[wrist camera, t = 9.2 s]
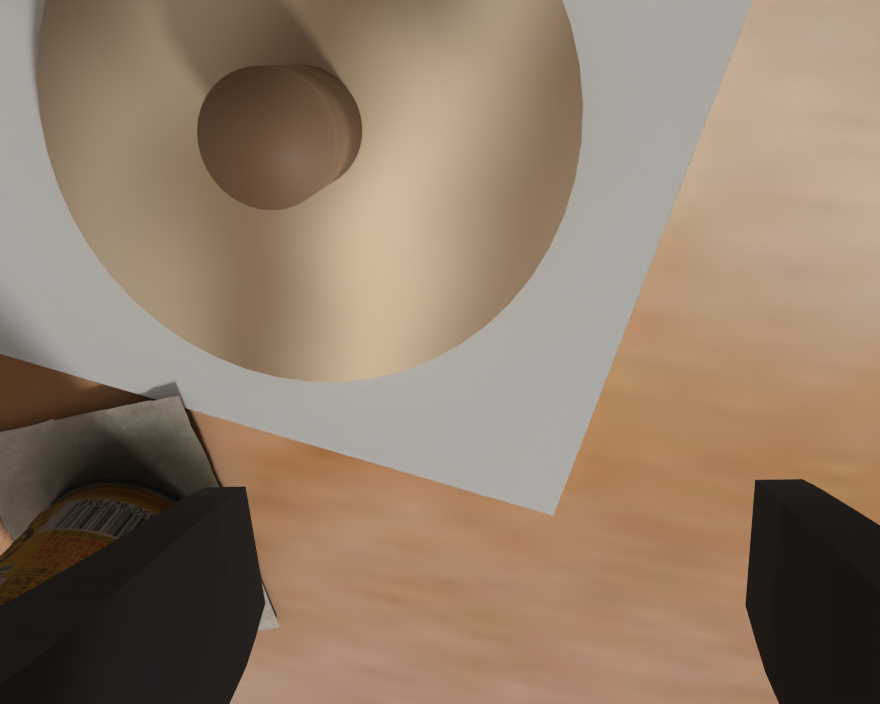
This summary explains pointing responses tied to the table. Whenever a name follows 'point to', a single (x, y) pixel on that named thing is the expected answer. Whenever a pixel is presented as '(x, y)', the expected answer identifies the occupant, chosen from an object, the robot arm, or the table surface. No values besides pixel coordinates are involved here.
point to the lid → (314, 167)
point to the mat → (454, 372)
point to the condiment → (93, 486)
